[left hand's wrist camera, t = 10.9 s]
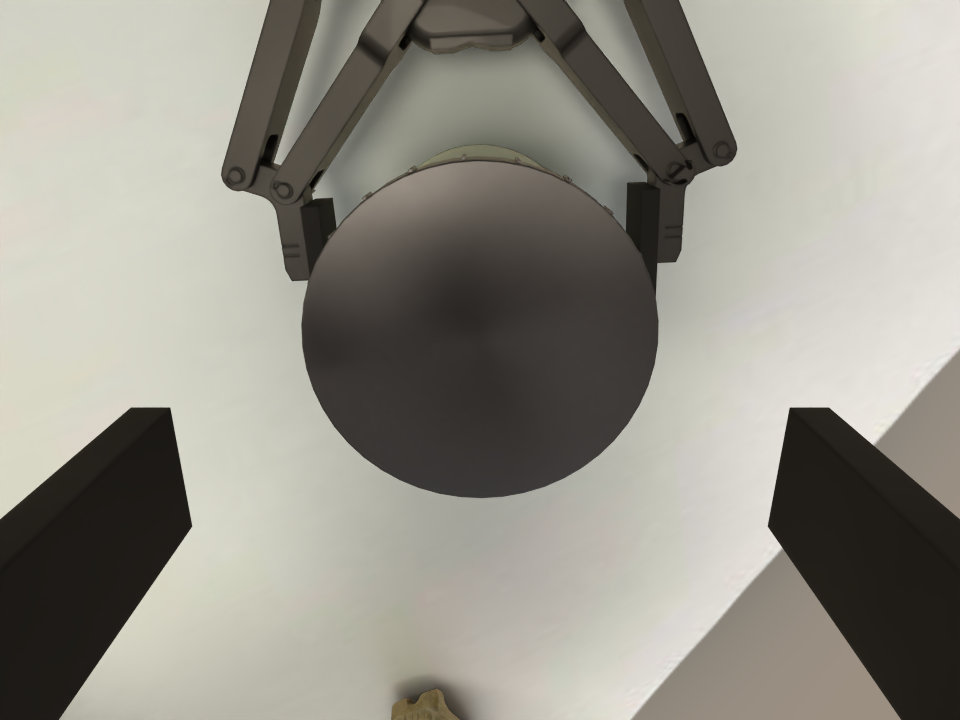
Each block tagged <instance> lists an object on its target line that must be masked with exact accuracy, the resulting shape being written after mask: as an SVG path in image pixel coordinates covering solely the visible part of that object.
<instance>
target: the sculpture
mask: <svg viewBox="0 0 960 720" xmlns="http://www.w3.org/2000/svg"><path fill="white" fill-rule="evenodd" d="M391 720H460V719H459V718H457V717H456V716H455V715H454V714H453V713H451V712H450V711H449V709H448V707H447V706H446V704H445V701H444V695H443V693H442V692H441V691H440V690H438V689H434V690H431V691H427V692H424V693H422V694H421V695H420V697H419V700H418V701H417V702H416V703H415V704H414V702H413V700H412V699H409V698H406V699H403V700H400V701H398V702H396V703H395V704H394V705H393V707H392V716H391Z"/></svg>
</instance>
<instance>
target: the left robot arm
mask: <svg viewBox="0 0 960 720" xmlns="http://www.w3.org/2000/svg"><path fill="white" fill-rule="evenodd" d="M191 527H192V523H191V517H190V512H189V506H188V501H187V496H186V490H185V485H184V479H183V474H182V469H181V463H180V458H179V452H178V447H177V442H176V436H175V431H174V425H173V420H172V415H171V409H170V408H130V409H129V410H128V411H127V412H125V413H124V414H123V415H122V416H121V417H119V418H118V419H117V420H116V421H115V422H114V423H112V424H111V425H110V426H109V427H108V428H107V429H105V430H104V431H103V432H102V433H101V434H100V435H98V436H97V437H96V438H95V439H94V440H93V441H91V442H90V443H89V444H88V445H87V446H86V447H84V448H83V449H82V450H81V451H80V452H79V453H77V454H76V455H75V456H74V457H73V458H71V459H70V460H69V461H68V462H67V463H66V464H64V465H63V466H62V467H61V468H60V469H59V470H57V471H56V472H55V473H54V474H53V475H52V476H50V477H49V478H48V479H47V480H46V481H45V482H43V483H42V484H41V485H40V486H39V487H38V488H36V489H35V490H34V491H33V492H32V493H31V494H29V495H28V496H27V497H26V498H25V499H23V500H22V501H21V502H20V503H19V504H18V505H16V506H15V507H14V508H13V509H12V510H11V511H9V512H8V513H7V514H6V515H5V516H4V517H2V518H1V519H0V720H59V719H60V717H61V716H62V714H63V713H64V711H65V710H66V708H67V707H68V706H69V704H70V703H71V701H72V700H73V698H74V697H75V695H76V694H77V693H78V691H79V690H80V688H81V687H82V685H83V684H84V682H85V681H86V680H87V678H88V677H89V675H90V674H91V672H92V671H93V669H94V668H95V666H96V665H97V664H98V662H99V661H100V659H101V658H102V656H103V655H104V653H105V652H106V651H107V649H108V648H109V646H110V645H111V643H112V642H113V640H114V639H115V638H116V636H117V635H118V633H119V632H120V630H121V629H122V627H123V626H124V624H125V623H126V622H127V620H128V619H129V617H130V616H131V614H132V613H133V611H134V610H135V609H136V607H137V606H138V604H139V603H140V601H141V600H142V598H143V597H144V596H145V594H146V593H147V591H148V590H149V588H150V587H151V585H152V584H153V582H154V581H155V580H156V578H157V577H158V575H159V574H160V572H161V571H162V569H163V568H164V567H165V565H166V564H167V562H168V561H169V559H170V558H171V556H172V555H173V554H174V552H175V551H176V549H177V548H178V546H179V545H180V543H181V542H182V540H183V539H184V538H185V536H186V535H187V533H188V532H189V530H190V529H191ZM768 527H769V529H770V530H771V532H772V533H773V535H774V536H775V538H776V539H777V540H778V542H779V543H780V545H781V546H782V548H783V549H784V551H785V552H786V553H787V555H788V556H789V558H790V559H791V561H792V562H793V564H794V565H795V567H796V568H797V569H798V571H799V572H800V574H801V575H802V577H803V578H804V580H805V581H806V582H807V584H808V585H809V587H810V588H811V590H812V591H813V593H814V594H815V595H816V597H817V598H818V600H819V601H820V603H821V604H822V606H823V607H824V609H825V610H826V611H827V613H828V614H829V616H830V617H831V619H832V620H833V622H834V623H835V624H836V626H837V627H838V629H839V630H840V632H841V633H842V635H843V636H844V637H845V639H846V640H847V642H848V643H849V645H850V646H851V648H852V649H853V651H854V652H855V653H856V655H857V656H858V658H859V659H860V661H861V662H862V664H863V665H864V666H865V668H866V669H867V671H868V672H869V674H870V675H871V677H872V678H873V680H874V681H875V682H876V684H877V685H878V687H879V688H880V690H881V691H882V693H883V694H884V695H885V697H886V698H887V700H888V701H889V703H890V704H891V706H892V707H893V708H894V710H895V711H896V713H897V714H898V716H899V717H900V719H901V720H960V519H959V518H958V517H956V516H955V515H954V514H953V513H952V512H951V511H949V510H948V509H947V508H946V507H945V506H944V505H942V504H941V503H940V502H939V501H938V500H937V499H935V498H934V497H933V496H932V495H931V494H929V493H928V492H927V491H926V490H925V489H924V488H922V487H921V486H920V485H919V484H918V483H917V482H915V481H914V480H913V479H912V478H911V477H909V476H908V475H907V474H906V473H905V472H904V471H903V470H901V469H900V468H899V467H898V466H897V465H896V464H894V463H893V462H892V461H891V460H890V459H888V458H887V457H886V456H885V455H884V454H883V453H881V452H880V451H879V450H878V449H877V448H876V447H874V446H873V445H872V444H871V443H870V442H869V441H867V440H866V439H865V438H864V437H863V436H862V435H860V434H859V433H858V432H857V431H856V430H855V429H853V428H852V427H851V426H850V425H849V424H848V423H846V422H845V421H844V420H843V419H842V418H840V417H839V416H838V415H837V414H836V413H835V412H833V411H832V410H831V409H830V408H790V409H789V415H788V420H787V425H786V431H785V436H784V442H783V447H782V452H781V458H780V463H779V469H778V474H777V479H776V485H775V490H774V496H773V501H772V506H771V512H770V517H769V523H768Z"/></svg>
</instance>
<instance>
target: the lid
mask: <svg viewBox="0 0 960 720" xmlns="http://www.w3.org/2000/svg"><path fill="white" fill-rule="evenodd" d="M571 181H572V180H571V179H570V178H569V177H567V176H566V175H564V176H563V177H561V176H559V175H557V174H555V173H553V172H551V171H549V170H547V169H544V168H541V167H538V166H535V165H533V164H530V163H527V162H523V161H521V160H520V159H519V157H515V160H513V159H507V158H502V157H486V156H472V157H467V156H466V154H463V155H462V157H460V158H452V159H447V160H443V161H438V162H434V163H430V164H427V165H424V166H422V167H419V168H416V166H413V167H411V168H410V169H409V170H408V172H407V173H405V174H403V175H401V176H399V177H397V178H395V179H393V180H392V181H390V182H388V183H387V184H385V185H384V186H383V187H381V188H380V189H378V190H377V191H376V192H374V193H373V194H372V193H371V192H369V193H368V194H367V195H365V196H364V197H363V198H362V199H363V200H364V201H363V202H361V203H360V204H359V205H358V206H357V207H356V208H355V209H354V210H353V211H352V212H351V213H350V214H349V215H348V216H347V217H346V218H345V219H344V220H343V221H342V222H341V224H340V225H339V226H338V228H337V229H336V230H335V231H333V232H332V233H331V234H330V235H329V236H328V238H329V239H328V241H327V243H326V245H325V246H324V248H323V250H322V252H321V253H320V255H319V257H318V259H317V261H316V264H315V266H314V269H313V271H312V274H311V276H310V279H309V281H308V286H307V290H306V295H305V299H304V303H303V314H302V325H301V326H302V347H303V353H304V358H305V363H306V369H307V372H308V375H309V378H310V381H311V384H312V387H313V390H314V392H315V394H316V396H317V398H318V400H319V402H320V404H321V406H322V408H323V410H324V412H325V413H326V415H327V416H328V418H329V419H330V421H331V422H332V424H333V425H334V427H335V428H336V429H337V430H338V432H339V433H340V434H341V435H342V436H343V437H344V439H345V440H346V441H347V442H348V443H349V444H350V445H351V446H352V447H353V448H354V449H355V450H356V451H358V452H359V453H360V454H361V455H362V456H363V457H364V458H365V459H367V460H368V461H370V462H371V463H372V464H374V465H375V466H377V467H378V468H379V469H381V470H383V471H384V472H386V473H388V474H390V475H392V476H393V477H395V478H397V479H399V480H401V481H403V482H406V483H408V484H411V485H413V486H416V487H418V488H421V489H425V490H428V491H432V492H436V493H439V494H445V495H451V496H457V497H471V498H490V497H504V496H509V495H515V494H520V493H525V492H528V491H532V490H535V489H538V488H542V487H545V486H547V485H549V484H552V483H554V482H556V481H559V480H561V479H563V478H565V477H567V476H569V475H570V474H572V473H574V472H575V471H577V470H579V469H581V468H582V467H584V466H585V465H586V464H588V463H589V462H590V461H592V460H593V459H594V458H596V457H597V456H598V455H599V454H601V453H602V452H603V451H604V450H605V449H606V448H607V447H608V446H609V445H610V444H611V443H612V442H613V441H614V440H615V439H616V438H617V436H618V435H619V434H620V433H621V431H622V430H623V429H624V428H625V427H626V425H627V424H628V423H629V421H630V419H631V418H632V416H633V415H634V413H635V411H636V410H637V408H638V407H639V405H640V403H641V400H642V398H643V396H644V394H645V392H646V389H647V387H648V385H649V381H650V378H651V375H652V371H653V368H654V365H655V358H656V352H657V346H658V313H657V305H656V298H655V294H654V290H653V286H652V283H651V279H650V276H649V273H648V271H647V269H646V266H645V264H644V262H643V259H642V254H641V253H640V252H639V251H638V250H637V248H636V246H635V245H634V243H633V241H632V240H631V238H630V236H629V235H628V234H627V232H626V231H625V230H624V229H623V228H622V226H621V225H620V224H619V223H618V221H617V220H616V219H615V218H614V216H612V215H613V214H614V213H613V212H612V211H611V210H610V209H608V208H607V207H606V206H604V207H603V206H602V205H601V204H599V203H598V202H597V201H596V200H595V199H594V198H593V197H591V196H590V195H589V194H587V193H586V192H585V191H583V190H582V189H580V188H579V187H577V186H576V185H574V184H573V183H572V182H571Z"/></svg>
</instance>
